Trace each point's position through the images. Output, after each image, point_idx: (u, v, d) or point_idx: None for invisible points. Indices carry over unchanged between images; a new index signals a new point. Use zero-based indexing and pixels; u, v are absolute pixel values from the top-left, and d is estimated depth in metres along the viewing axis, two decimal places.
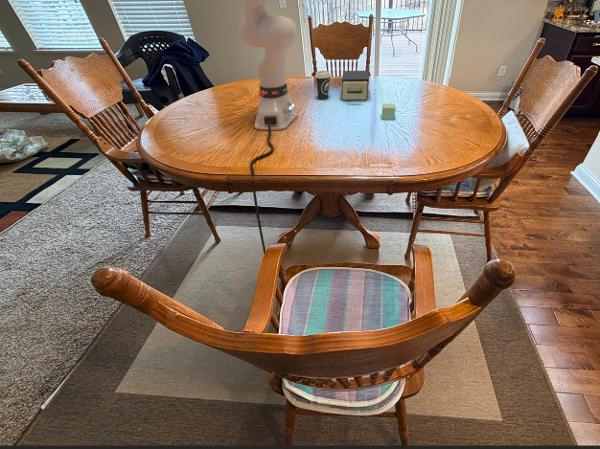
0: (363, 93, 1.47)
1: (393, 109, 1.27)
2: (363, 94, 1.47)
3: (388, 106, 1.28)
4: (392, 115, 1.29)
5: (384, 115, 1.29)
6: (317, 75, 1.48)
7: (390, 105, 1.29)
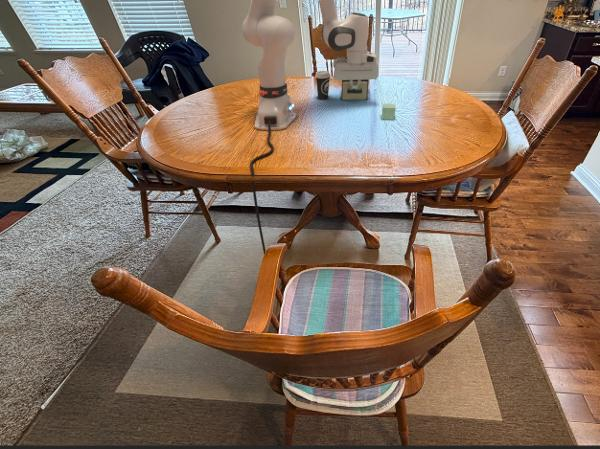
0: (363, 93, 1.46)
1: (393, 109, 1.27)
2: (363, 94, 1.47)
3: (388, 106, 1.28)
4: (392, 115, 1.29)
5: (384, 115, 1.29)
6: (317, 75, 1.48)
7: (390, 105, 1.29)
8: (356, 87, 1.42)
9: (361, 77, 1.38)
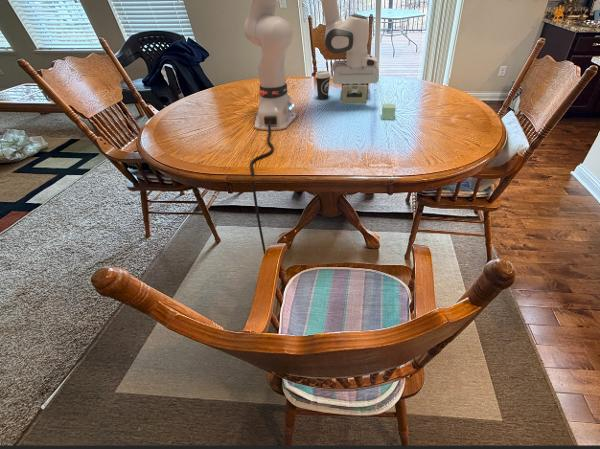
0: (363, 97, 1.42)
1: (393, 109, 1.27)
2: (363, 98, 1.43)
3: (388, 106, 1.28)
4: (392, 115, 1.29)
5: (384, 115, 1.29)
6: (317, 75, 1.48)
7: (390, 105, 1.29)
8: (356, 91, 1.38)
9: (361, 81, 1.34)
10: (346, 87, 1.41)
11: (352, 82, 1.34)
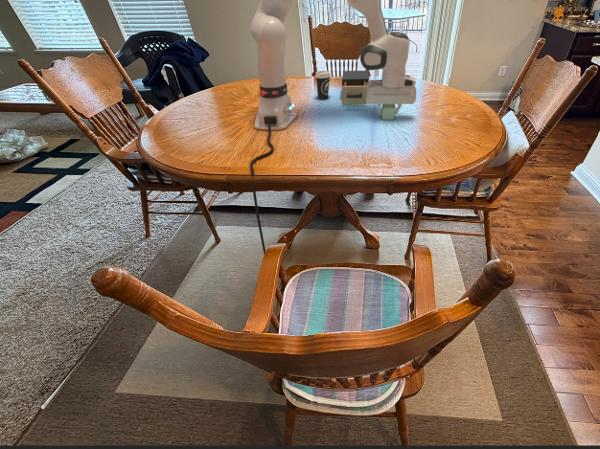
0: (363, 98, 1.42)
1: (393, 109, 1.27)
2: (363, 98, 1.42)
3: (388, 106, 1.28)
4: (392, 115, 1.29)
5: (384, 115, 1.29)
6: (317, 75, 1.48)
7: (390, 105, 1.29)
8: (396, 112, 1.29)
9: (396, 101, 1.26)
10: (346, 88, 1.40)
11: (387, 102, 1.27)
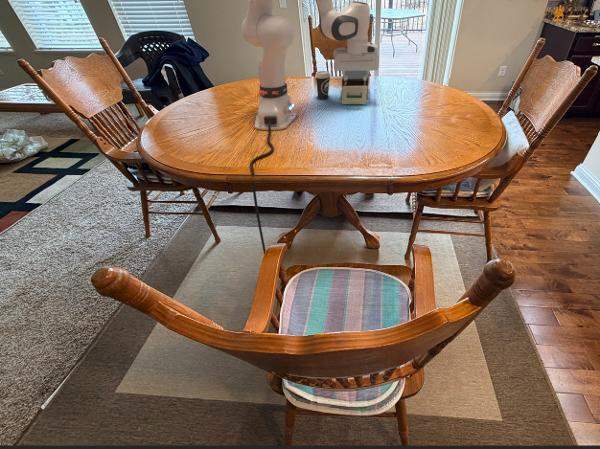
0: (363, 98, 1.42)
1: None
2: (363, 98, 1.42)
3: None
4: None
5: None
6: (317, 75, 1.48)
7: None
8: (365, 78, 1.39)
9: (361, 68, 1.36)
10: (346, 88, 1.40)
11: (353, 69, 1.37)
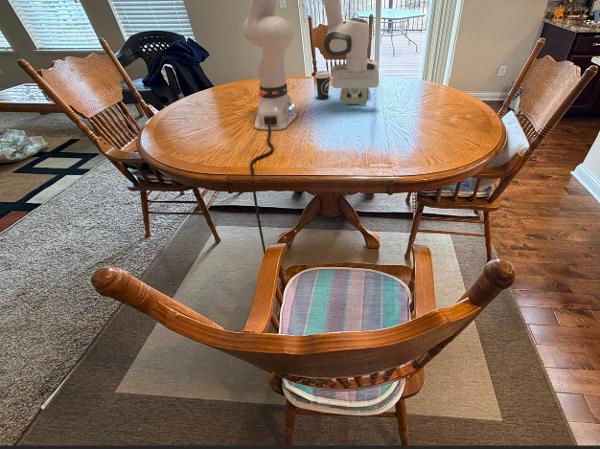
0: (363, 97, 1.42)
1: None
2: (363, 98, 1.42)
3: None
4: None
5: None
6: (317, 75, 1.48)
7: None
8: (356, 95, 1.36)
9: (361, 85, 1.32)
10: None
11: (352, 86, 1.33)
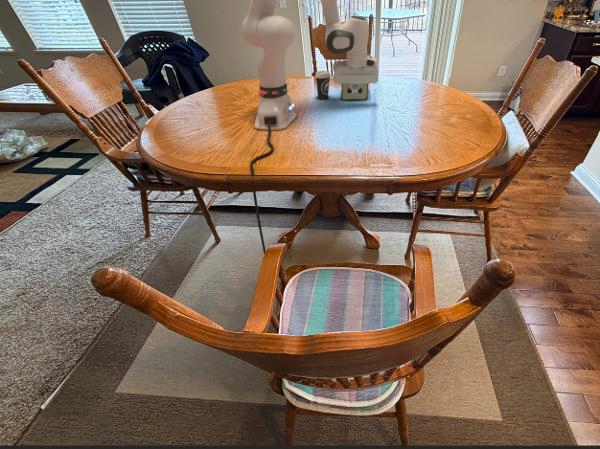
0: (363, 93, 1.47)
1: None
2: (363, 94, 1.47)
3: None
4: None
5: None
6: (317, 75, 1.48)
7: None
8: (356, 91, 1.41)
9: (361, 81, 1.37)
10: (347, 83, 1.45)
11: (352, 82, 1.38)
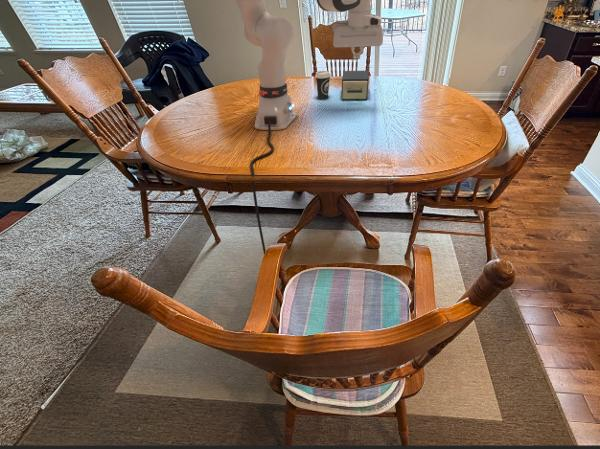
0: (363, 92, 1.47)
1: None
2: (363, 93, 1.48)
3: None
4: None
5: None
6: (317, 75, 1.48)
7: None
8: (358, 56, 1.27)
9: (364, 43, 1.23)
10: (347, 83, 1.46)
11: (354, 45, 1.24)
